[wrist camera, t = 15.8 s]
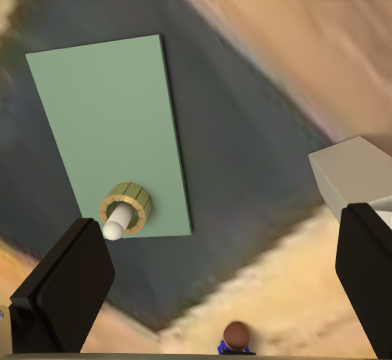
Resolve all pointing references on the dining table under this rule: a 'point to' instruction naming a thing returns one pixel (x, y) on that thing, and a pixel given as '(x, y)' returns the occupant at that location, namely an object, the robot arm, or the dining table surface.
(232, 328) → the figurine character
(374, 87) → the dining table surface
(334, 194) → the milk carton
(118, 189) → the brass ring
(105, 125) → the post board
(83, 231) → the robot arm
